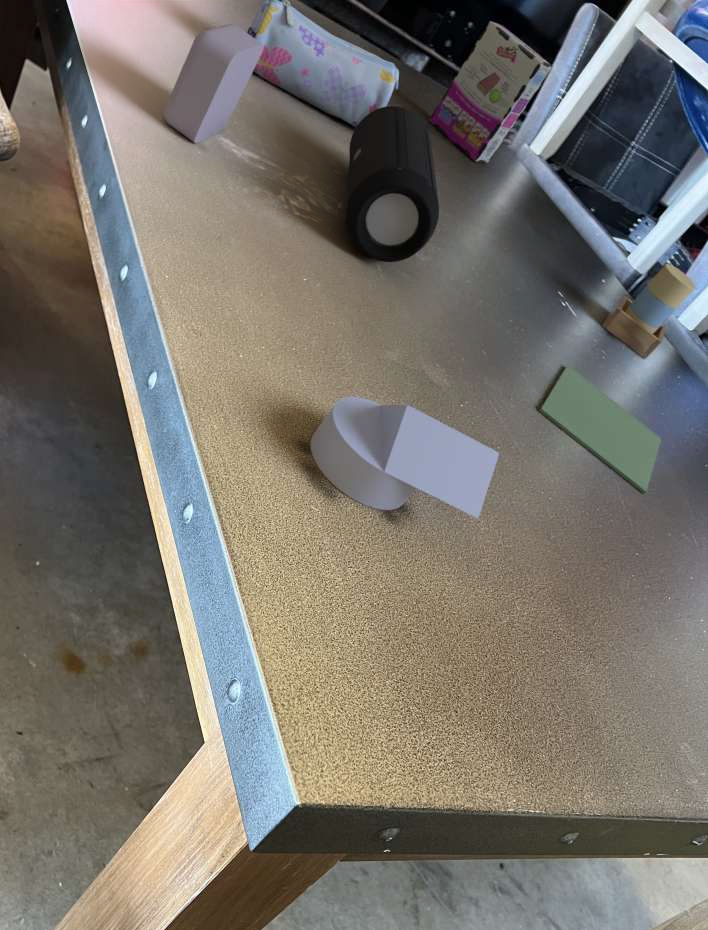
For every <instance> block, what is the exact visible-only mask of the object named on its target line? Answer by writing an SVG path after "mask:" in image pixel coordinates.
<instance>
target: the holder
mask: <svg viewBox="0 0 708 930" xmlns="http://www.w3.org/2000/svg"><path fill="white" fill-rule="evenodd" d="M632 302H633V300H632V299H630V298H628V296H626V295H623V296H622V298H620V300H619V301H618V302H617V303H616V305H615V306H614V307H613V308H612V309H611V310H610V312H609V313H608V315H607V316H606V318H605V320H604V322H603V323H602V325H601V327H602V328H604V329H606V330H607V331H608V332H609V333H610V334H612V335H613V336H614V337H616V338H617V339H618V340H620V341H621V342H622V343H624V345H626V346H627V347H628V348H630V349H631V350H633V352H634V353H636V354H637V355H638V356H640V357H641V358H642V359H644V360H646V359H647V358H648V357H649V356H650V355H651V354H652V353H653V352H654V350H656V348H658V346H659V345H661V343H662V342H663V338H664V336H665V333H666V330H667V327H666V326H664V325H663V324H662V325H661V326H660V327H659V328H658V329H657V330H656V331H655V332H654V333H653V334H652V333H650V332H649V331H648V330H647V329H645V328H644V327H643V326H642V325H640V324H639V323H638V322H636V321H635V320H634V319H633V318H631V317H630V316H629V315H627V314H626V313H625V312H624V311H625V310H626V309H627V308H628V306H629V305H630V304H631V303H632Z"/></svg>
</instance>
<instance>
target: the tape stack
mask: <svg viewBox="0 0 708 930" xmlns="http://www.w3.org/2000/svg"><path fill="white" fill-rule="evenodd" d="M695 289H696V284H695V282H693V280H692V279H691V278H689V276H688V275H687V274H686V273H684V272H683V271H682V270H681V269H679V268H678V267H676V266H674V265H673V264H669V263H665V264H664V265H663V266H662V268H660V270H659V271H658V272H657V273H656V275H654V277H653V278H652V279H651V280H650V281H649V282H648V284H647V285H646V286H645V287H644V288H643V289H642V291H640V293H639V294H638V295H637V296H636V297H635V299H634V300H632V303H631V304H630V305H629V306H628V308H627V309H626V310H625V311H624V312H625V313H626V314H627V315H629V316H630V317H631V318H633V319H634V320H635V321H636V322H638V323H639V324H640V325H642V326H643V327H644V328H645V329H647V330H648V331H649V332H650V333H652V334H653V333H654V332H655V331H656V330H657V329H658V328H659V327H660V326H661V325H663V324H664V323H665V322H666V321H667V320H668V318H669V317H671V315H672V314H673V313H674V312H675V311H677V309H678V308H679V307H680V305H681V304H683V302H684V301H685V300H686V299H687V298H688V297H689V296H690V295H691V294H692V292H693V291H694V290H695Z"/></svg>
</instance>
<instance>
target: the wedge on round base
mask: <svg viewBox="0 0 708 930" xmlns="http://www.w3.org/2000/svg"><path fill="white" fill-rule="evenodd" d="M310 452H311V456H312V458H313V460H314V462H315V464H316V465H317V468H318V469H319V470H320V472H321V473H322V475H324V476H325V478H326V479H327V480H328V481H329V482H330V483H331V484H332V485H333V486H334V487H335V488H337V489H338V491H340V492H341V493H343V494H344V495H345V496H346V497H349V498H350V499H352V500H353V501H356V502H358V503H359V504H362V505H364V506H366V507H369V508H372V509H376V510H382V511H391V510H392V511H393V510H396V509H399V508H400V507H402V506H403V505H404V504H405V503H406V501H407V500H408V499H409V498H410V497H411V496H412V494H413V493H414V492H415V490H416V489H417V490H419V491H422V492H424V493H426V494H428V495H430V496H432V497H434V498H436V499H438V500H440V501H441V502H444V503H445V504H448V505H450V506H452V507H454V508H456V509H458V510H460V511H462V512H464V513H466V514H468V515H470V516H472V517H474V518H476V519H479V518H480V515H481V512H482V509H483V506H484V502H485V499H486V496H487V493H488V490H489V486H490V484H491V481H492V478H493V475H494V472H495V468H496V465H497V463H498V459H499V456H500V452H499V451H496V450H494V449H492V448H491V447H489V446H487V445H485V444H483V443H482V442H480V441H478V440H476V439H473V438H472V437H470V436H468V435H466V434H464V433H462V432H461V431H458V430H456V429H455V428H453V427H451V426H449V425H447V424H445V423H443V422H441V421H439V420H437V419H436V418H434V417H432V416H430V415H429V414H426V413H424V412H423V411H420V410H419V409H417V408H414V407H413V406H411V405H409V404H385V405H383V404H382V405H381V404H379V403H378V402H375V401H373V400H370V399H367V398H364V397H360V396H345V397H342V398H339V399H338V400H337V401H336V402H335V403H334V405H332V407H331V409H330V410H329V412H328V413H327V414H326V416H325V417H324V419H323V420H322V422H321V423H320V424H319V426H318V427H317V429H316V430H315V432H313V435H312V436H311V438H310ZM374 506H375V507H374ZM378 507H379V508H378ZM385 508H386V509H385ZM390 508H391V509H390Z"/></svg>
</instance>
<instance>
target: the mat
mask: <svg viewBox="0 0 708 930" xmlns="http://www.w3.org/2000/svg"><path fill="white" fill-rule="evenodd" d="M538 412H540V413H541V415H543V416H544V417H546V418H547V419H548V420H549V421H551V422H552V423H553V424H555V425H556V426H557V427H559V428H560V429H561V430H562V431H564V432H565V434H567V435H568V436H570V437H571V438H572V439H573V440H575V441H576V442H577V443H578V444H580V445H581V446H582V447H584V448H585V449H586V450H588V452H590V453H591V454H592V455H594V456H595V457H596V458H598V459H599V460H600V461H602V463H604V464H605V465H606V466H608V467H609V468H610V469H611V470H612V471H614V472H615V473H616V474H618V475H619V476H621V478H623V479H624V480H625V481H627V482H628V483H629V484H630V485H632V486H633V487H634V488H636V489H637V490H638V491H640V492H641V494H643V495H645V494H646V493H647V491H648V488H649V485H650V481H651V477H652V474H653V471H654V467H655V463H656V460H657V456H658V453H659V450H660V446H661V443H662V437H661V436H659V435H658V434H657V433H655V432H654V431H653V430H652V429H650V428H649V427H648V426H646V425H645V424H644V423H643V422H641V421H640V420H639V419H637V418H636V417H635V416H633V414H631V413H630V412H629V411H627V410H626V409H624V407H622V405H619V404H618V403H617V402H616V401H615V400H614V399H612V398H611V397H609V396H608V395H607V394H606V393H604V392H603V391H602V390H601V389H600V388H598V387H597V386H596V385H594V384H593V383H592V382H591V381H589V380H588V379H587V378H585V377H584V376H582V375H581V374H580V373H579V372H578V371H576V370H575V369H574V368H572V367H571V366H570V365H568V364H567V365H566V366H565V367H564V369H563V371H562V372H561V374H560V375H559V377H558V379H557V381H556V382H555V384H554V385H553V387H552V389H551V390H550V391H549V394H548V395H547V397H546V399H545V400H544V402H543V403H542V405H541V406H540V408H539V410H538Z"/></svg>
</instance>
